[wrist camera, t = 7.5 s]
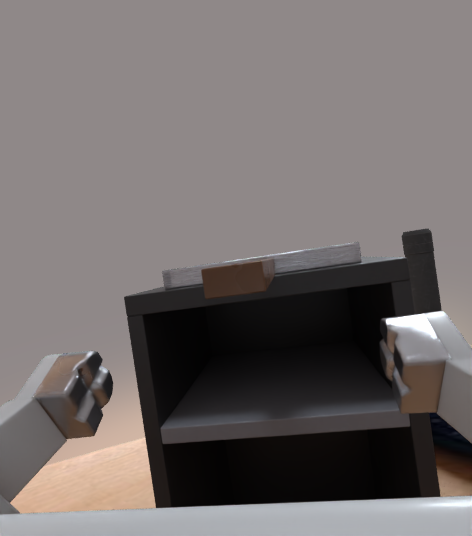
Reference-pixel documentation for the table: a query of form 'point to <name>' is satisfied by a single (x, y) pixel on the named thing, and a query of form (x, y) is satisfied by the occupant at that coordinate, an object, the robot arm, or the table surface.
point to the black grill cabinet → (278, 391)
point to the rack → (257, 270)
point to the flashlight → (422, 270)
